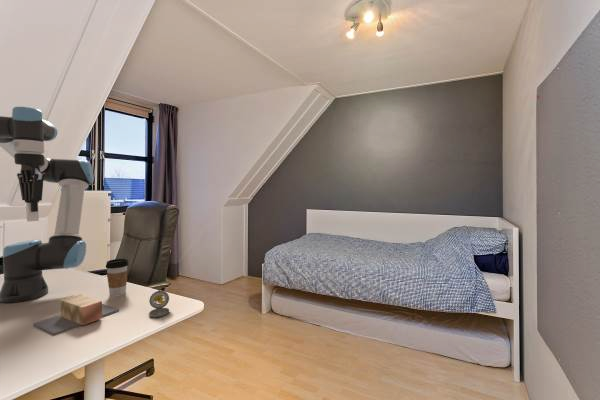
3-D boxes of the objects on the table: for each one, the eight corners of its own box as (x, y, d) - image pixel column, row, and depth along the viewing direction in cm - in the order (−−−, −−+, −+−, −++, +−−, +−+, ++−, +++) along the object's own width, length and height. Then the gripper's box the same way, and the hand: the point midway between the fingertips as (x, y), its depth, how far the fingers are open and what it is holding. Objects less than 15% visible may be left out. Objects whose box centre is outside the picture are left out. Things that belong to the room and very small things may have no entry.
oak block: (82, 325, 94) (61, 316, 100) (102, 317, 99) (80, 310, 105) (82, 307, 93) (60, 299, 100) (101, 301, 99) (80, 294, 105)
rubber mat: (33, 325, 95) (33, 323, 95) (98, 303, 113) (98, 302, 113) (53, 335, 88) (53, 333, 88) (119, 310, 106) (119, 309, 106)
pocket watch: (155, 320, 99) (155, 292, 99) (142, 314, 103) (142, 287, 103) (176, 311, 106) (176, 285, 106) (163, 306, 110) (163, 281, 110)
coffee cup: (118, 298, 118) (117, 262, 118) (101, 296, 120) (100, 261, 119) (133, 291, 127) (133, 258, 126) (117, 289, 128) (117, 257, 128)
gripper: (5, 152, 97) (9, 220, 99) (25, 152, 92) (28, 223, 93) (33, 154, 104) (36, 218, 106) (53, 154, 99) (55, 221, 100)
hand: (32, 220), depth 99 cm, fingers closed
